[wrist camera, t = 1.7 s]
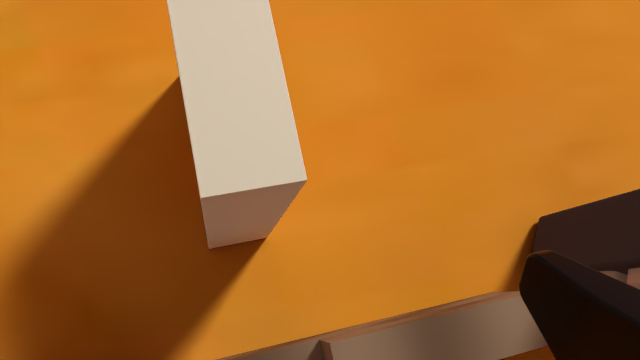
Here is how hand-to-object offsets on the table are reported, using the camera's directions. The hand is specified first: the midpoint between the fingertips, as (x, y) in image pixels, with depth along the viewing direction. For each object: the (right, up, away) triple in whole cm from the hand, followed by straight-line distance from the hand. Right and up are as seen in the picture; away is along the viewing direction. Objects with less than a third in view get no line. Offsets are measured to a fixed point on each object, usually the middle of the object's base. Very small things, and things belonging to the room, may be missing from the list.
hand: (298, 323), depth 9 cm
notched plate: (-4, +4, +14) cm, 15 cm away
